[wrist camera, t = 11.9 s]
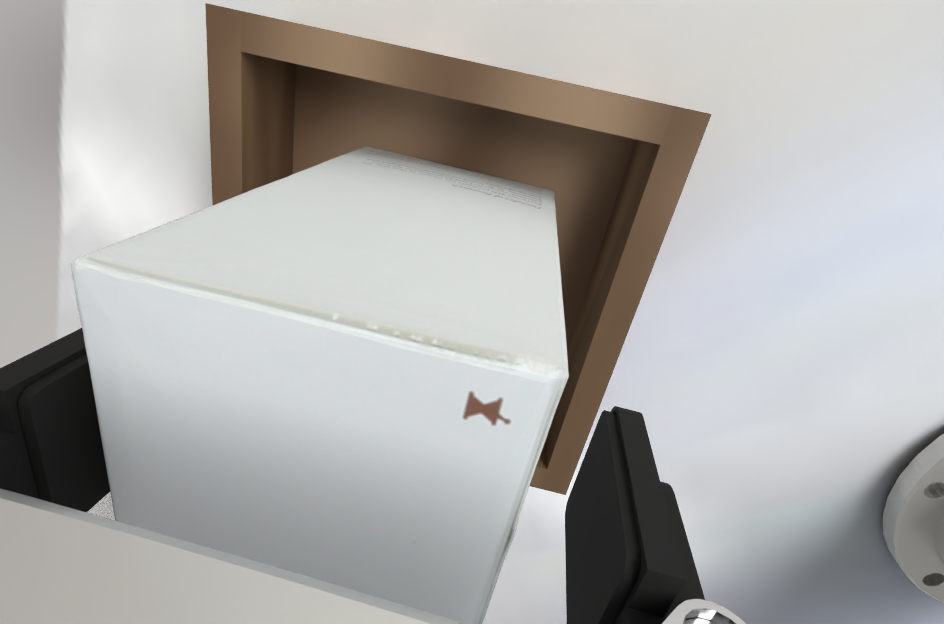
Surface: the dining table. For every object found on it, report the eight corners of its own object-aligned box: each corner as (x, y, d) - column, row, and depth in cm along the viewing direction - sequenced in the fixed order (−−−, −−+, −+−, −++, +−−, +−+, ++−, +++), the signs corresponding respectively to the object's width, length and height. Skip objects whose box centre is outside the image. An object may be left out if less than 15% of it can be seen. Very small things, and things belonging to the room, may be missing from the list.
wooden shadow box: (670, 106, 17) (711, 114, 13) (561, 423, 23) (565, 494, 19) (283, 21, 18) (205, 3, 14) (275, 354, 24) (219, 409, 20)
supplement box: (361, 139, 18) (48, 236, 7) (559, 188, 18) (592, 376, 6) (341, 317, 21) (109, 588, 10) (509, 359, 21) (471, 686, 10)
